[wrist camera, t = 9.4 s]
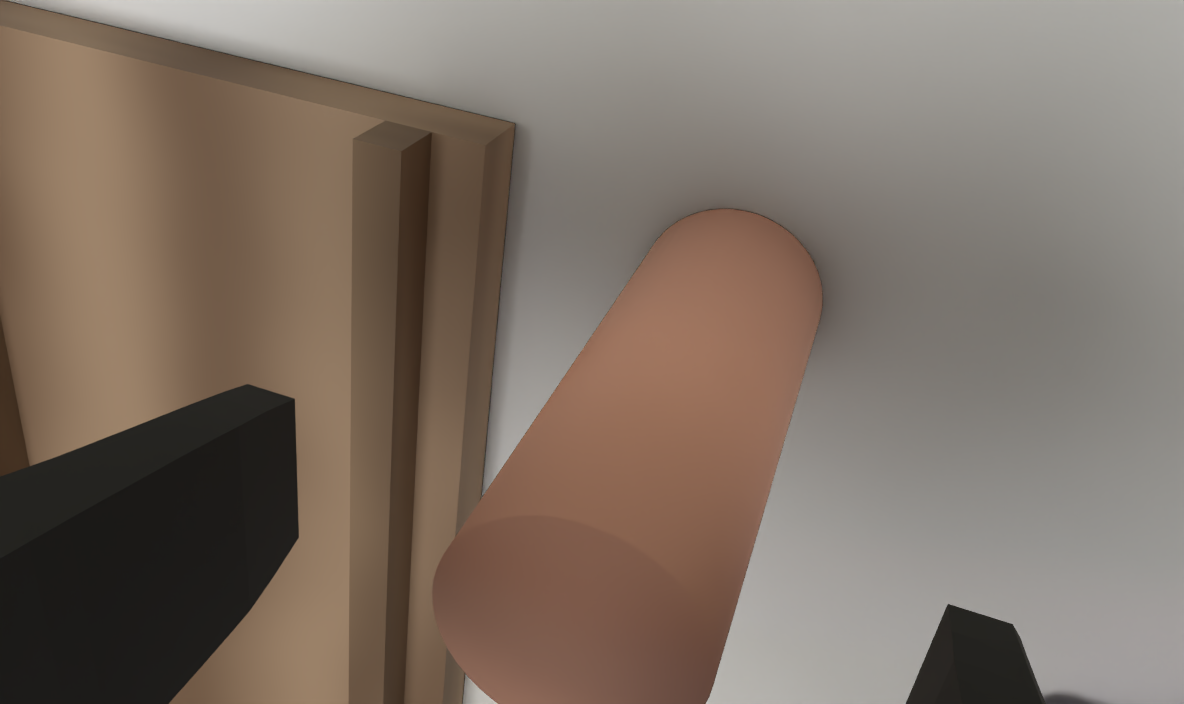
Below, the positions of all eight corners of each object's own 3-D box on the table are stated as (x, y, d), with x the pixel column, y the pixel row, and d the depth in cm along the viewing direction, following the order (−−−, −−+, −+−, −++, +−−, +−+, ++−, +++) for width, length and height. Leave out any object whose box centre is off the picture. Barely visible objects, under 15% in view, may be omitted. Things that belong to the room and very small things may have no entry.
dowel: (841, 231, 16) (739, 568, 9) (802, 393, 17) (691, 780, 11) (653, 190, 17) (433, 479, 10) (632, 350, 18) (429, 690, 11)
